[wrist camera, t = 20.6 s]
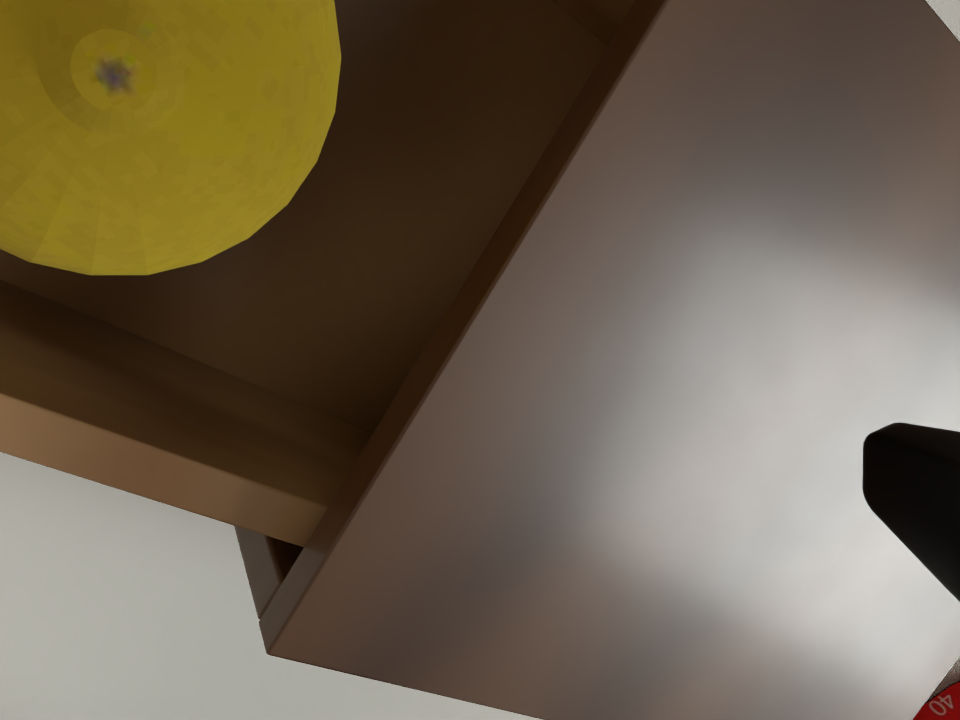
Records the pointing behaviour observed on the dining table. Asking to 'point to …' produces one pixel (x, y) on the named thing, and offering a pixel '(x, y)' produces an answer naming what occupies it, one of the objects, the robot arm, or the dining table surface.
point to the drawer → (302, 276)
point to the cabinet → (673, 396)
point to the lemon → (157, 125)
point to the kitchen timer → (942, 706)
